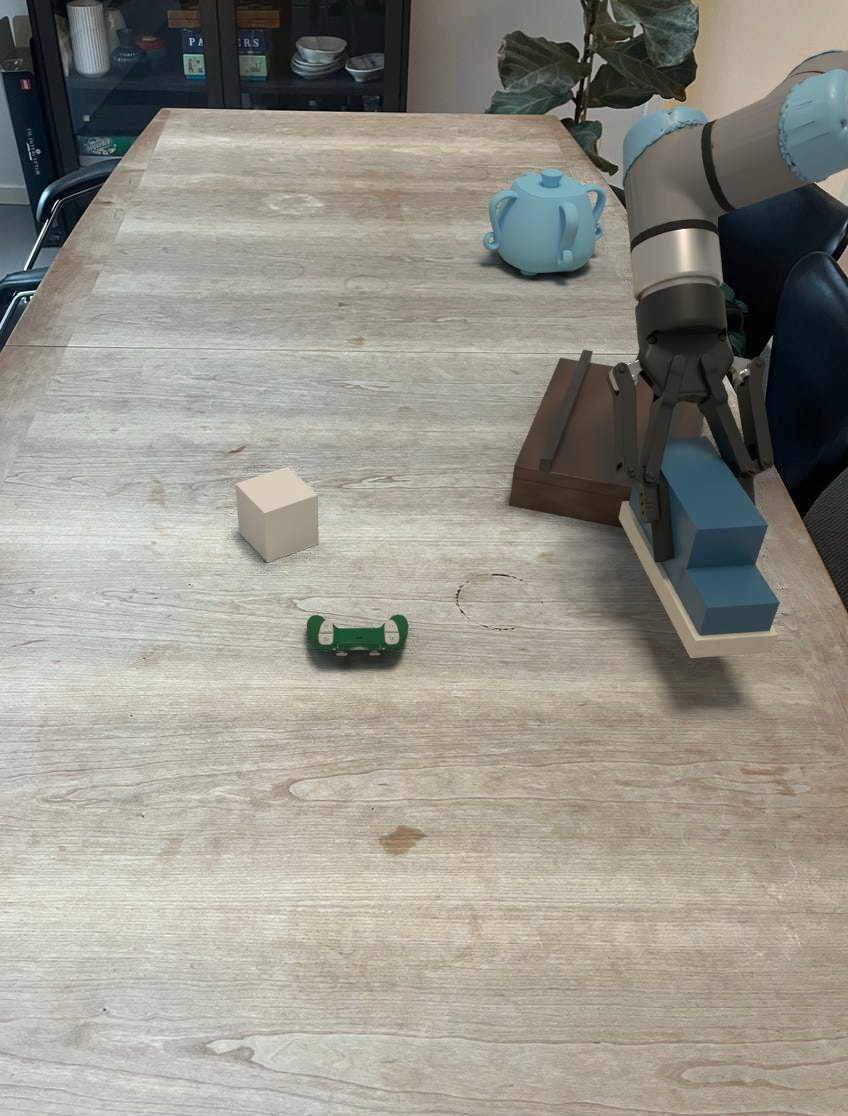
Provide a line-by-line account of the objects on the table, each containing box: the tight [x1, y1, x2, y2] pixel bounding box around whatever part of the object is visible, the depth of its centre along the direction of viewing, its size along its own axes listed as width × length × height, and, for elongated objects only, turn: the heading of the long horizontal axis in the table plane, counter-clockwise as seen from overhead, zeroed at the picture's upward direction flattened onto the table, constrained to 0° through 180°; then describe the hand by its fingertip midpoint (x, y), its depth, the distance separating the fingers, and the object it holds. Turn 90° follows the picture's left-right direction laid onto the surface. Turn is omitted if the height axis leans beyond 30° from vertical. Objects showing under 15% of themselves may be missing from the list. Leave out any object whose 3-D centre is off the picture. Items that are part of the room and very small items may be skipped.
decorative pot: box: [482, 168, 607, 276], centre depth 157 cm, size 16×16×14 cm
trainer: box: [619, 435, 781, 659], centre depth 89 cm, size 20×7×9 cm, turn 7°
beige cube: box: [234, 466, 320, 563], centre depth 104 cm, size 6×6×6 cm
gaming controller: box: [306, 613, 409, 657], centre depth 93 cm, size 9×4×6 cm
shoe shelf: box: [508, 349, 705, 528], centre depth 116 cm, size 18×26×6 cm
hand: (702, 557), depth 89 cm, fingers closed on trainer, 6 cm apart
